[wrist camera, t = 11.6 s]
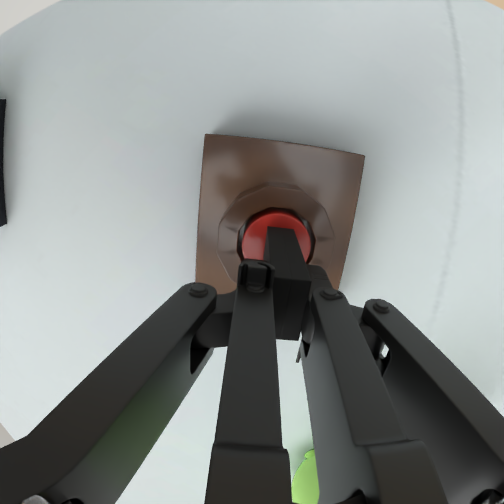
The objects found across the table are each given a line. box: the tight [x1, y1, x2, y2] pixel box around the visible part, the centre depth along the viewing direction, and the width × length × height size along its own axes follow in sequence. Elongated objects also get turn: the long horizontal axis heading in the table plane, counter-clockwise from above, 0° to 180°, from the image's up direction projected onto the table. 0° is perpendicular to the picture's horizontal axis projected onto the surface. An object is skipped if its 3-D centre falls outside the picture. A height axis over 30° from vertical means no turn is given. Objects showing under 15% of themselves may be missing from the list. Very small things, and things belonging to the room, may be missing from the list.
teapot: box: [291, 449, 319, 504], centre depth 25 cm, size 25×22×16 cm
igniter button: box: [242, 207, 311, 262], centre depth 18 cm, size 4×4×2 cm
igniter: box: [195, 134, 365, 294], centre depth 20 cm, size 12×10×4 cm
